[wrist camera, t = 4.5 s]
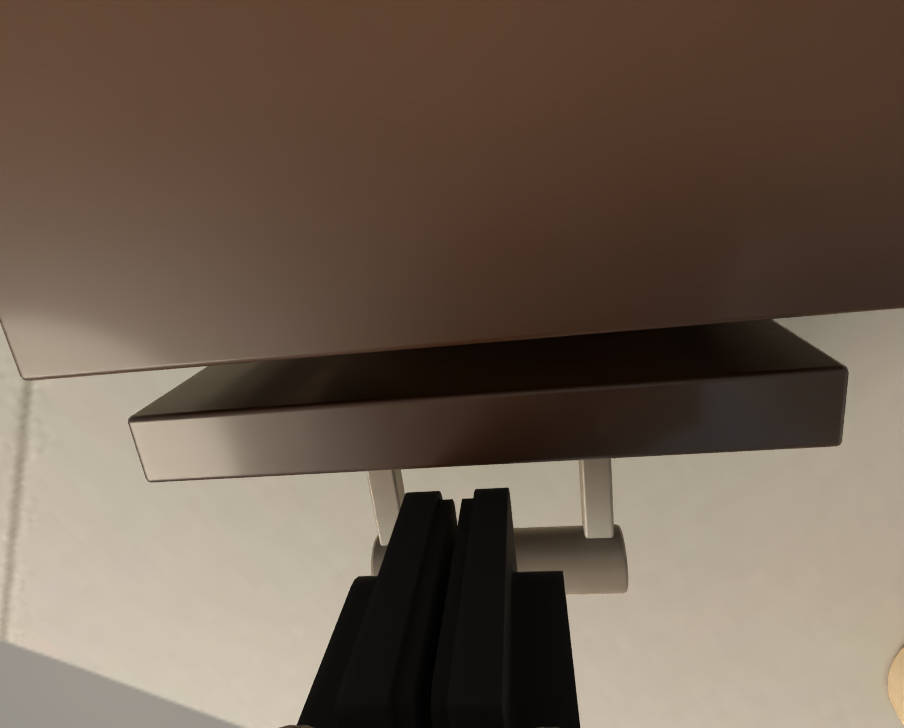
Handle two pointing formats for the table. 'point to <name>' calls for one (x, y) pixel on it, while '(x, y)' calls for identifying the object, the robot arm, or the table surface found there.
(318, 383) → the drawer
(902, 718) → the candle
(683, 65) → the cabinet
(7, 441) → the table surface
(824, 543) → the table surface
